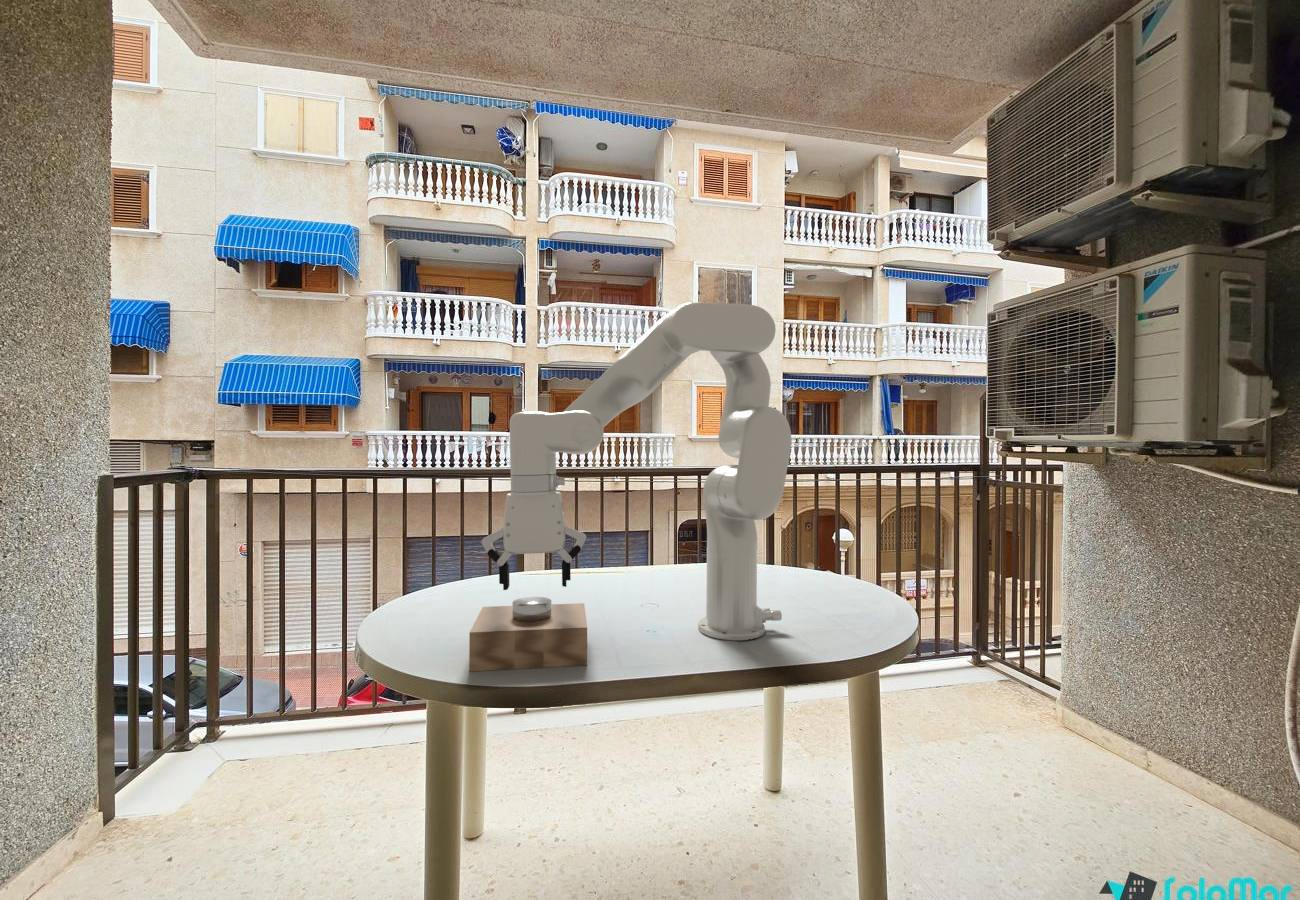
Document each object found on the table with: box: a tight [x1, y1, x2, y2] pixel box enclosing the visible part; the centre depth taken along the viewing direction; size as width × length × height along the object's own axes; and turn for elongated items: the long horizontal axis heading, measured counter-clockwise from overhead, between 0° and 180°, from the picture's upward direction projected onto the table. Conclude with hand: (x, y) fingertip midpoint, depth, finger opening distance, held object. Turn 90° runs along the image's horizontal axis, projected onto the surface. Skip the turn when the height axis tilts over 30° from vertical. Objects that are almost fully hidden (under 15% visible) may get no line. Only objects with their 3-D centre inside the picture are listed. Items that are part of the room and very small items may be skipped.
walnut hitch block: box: [468, 602, 588, 672], centre depth 93 cm, size 18×14×6 cm
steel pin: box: [512, 596, 552, 622], centre depth 93 cm, size 6×6×8 cm
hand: (535, 586), depth 94 cm, fingers open, 9 cm apart
